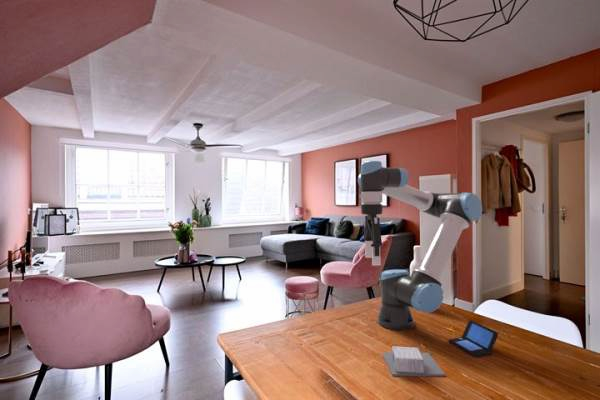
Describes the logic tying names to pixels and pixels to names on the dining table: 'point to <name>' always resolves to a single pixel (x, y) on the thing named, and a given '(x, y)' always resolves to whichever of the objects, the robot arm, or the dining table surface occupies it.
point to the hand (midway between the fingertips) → (372, 261)
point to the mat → (429, 370)
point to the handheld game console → (476, 340)
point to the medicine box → (407, 359)
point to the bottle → (416, 259)
